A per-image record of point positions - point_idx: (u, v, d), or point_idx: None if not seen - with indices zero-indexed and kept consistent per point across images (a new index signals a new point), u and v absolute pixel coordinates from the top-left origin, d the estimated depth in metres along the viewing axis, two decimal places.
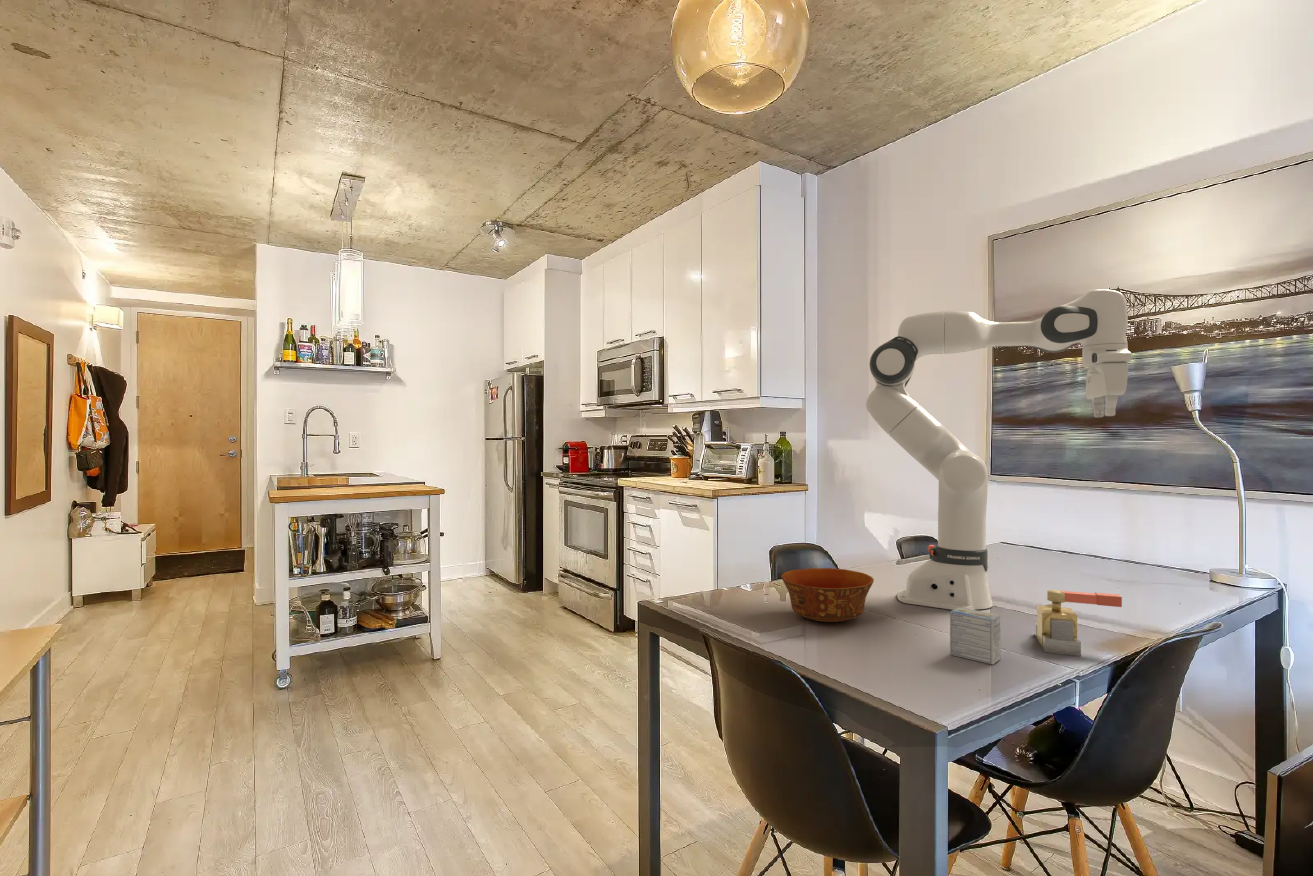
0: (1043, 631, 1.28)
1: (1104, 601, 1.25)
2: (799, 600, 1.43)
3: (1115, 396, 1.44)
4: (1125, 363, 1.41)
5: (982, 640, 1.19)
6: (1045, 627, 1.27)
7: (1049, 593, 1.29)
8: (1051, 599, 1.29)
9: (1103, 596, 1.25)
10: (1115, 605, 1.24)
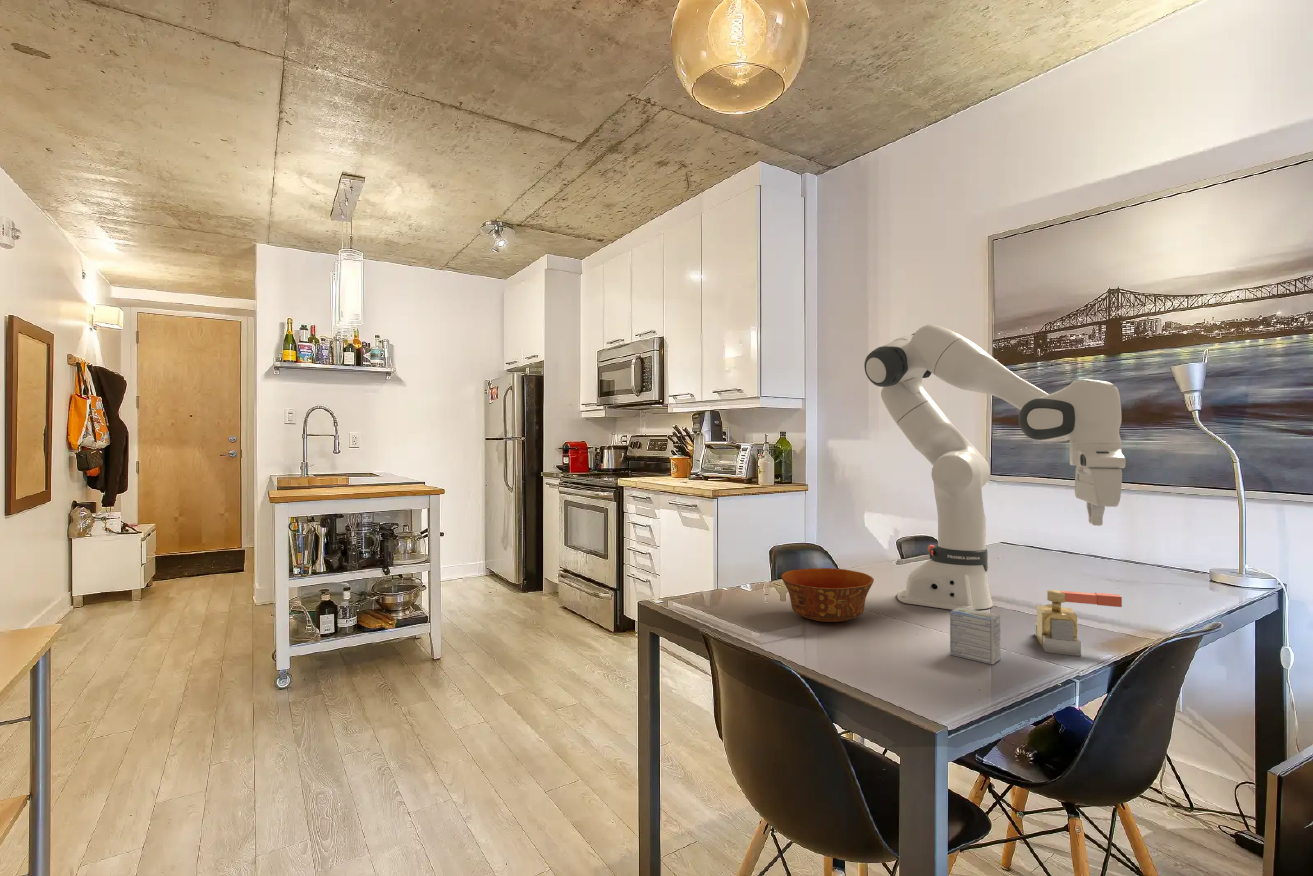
0: (1043, 631, 1.28)
1: (1104, 601, 1.25)
2: (799, 600, 1.43)
3: None
4: (1118, 470, 1.21)
5: (982, 640, 1.19)
6: (1045, 627, 1.27)
7: (1049, 593, 1.29)
8: (1051, 599, 1.29)
9: (1103, 596, 1.25)
10: (1115, 605, 1.24)
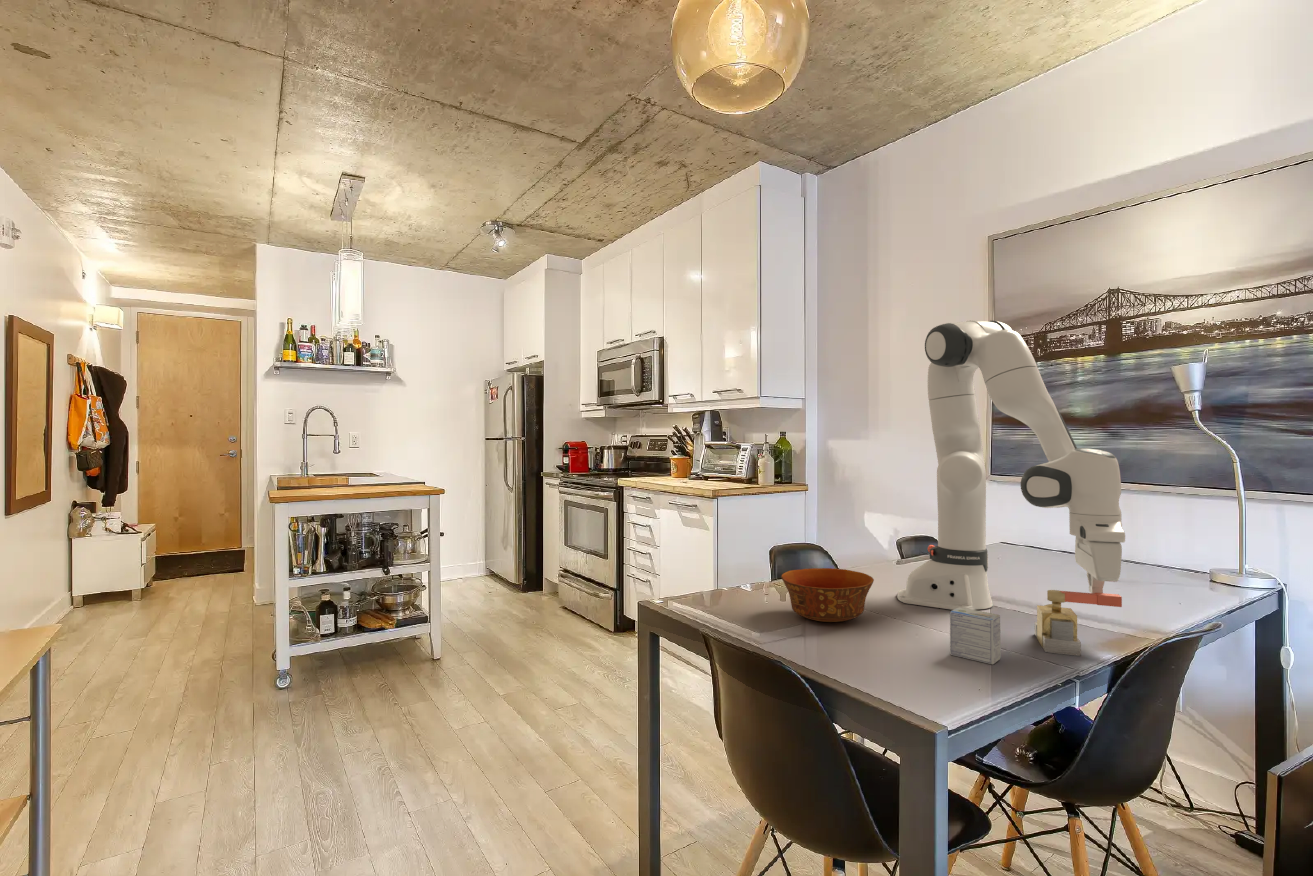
0: (1043, 631, 1.28)
1: (1104, 601, 1.25)
2: (799, 600, 1.43)
3: None
4: (1118, 545, 1.21)
5: (982, 640, 1.19)
6: (1045, 627, 1.27)
7: (1049, 593, 1.29)
8: (1051, 599, 1.29)
9: (1103, 596, 1.25)
10: (1115, 605, 1.24)
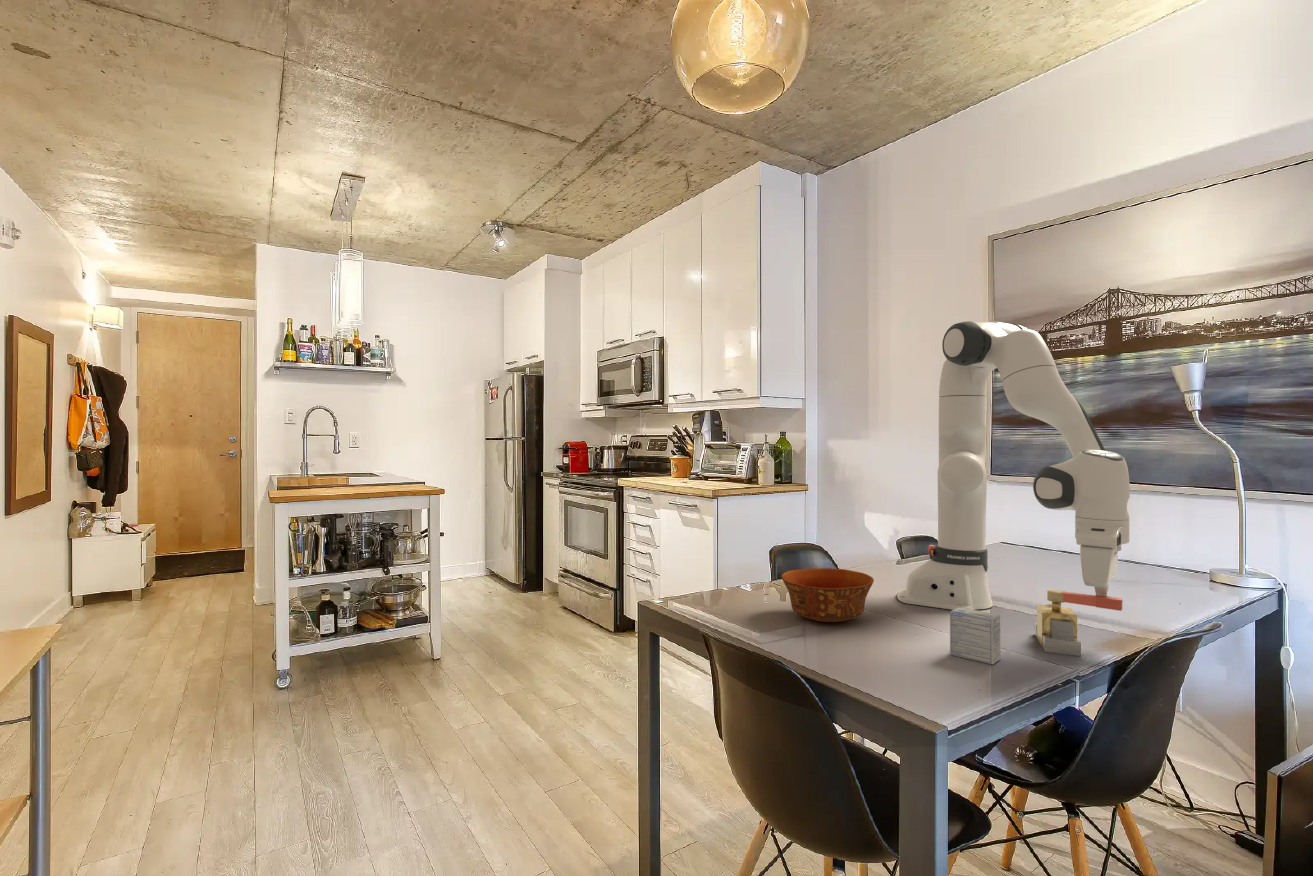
0: (1043, 631, 1.28)
1: (1103, 604, 1.23)
2: (799, 600, 1.43)
3: None
4: (1108, 550, 1.18)
5: (982, 640, 1.19)
6: (1045, 627, 1.27)
7: (1047, 592, 1.30)
8: (1049, 598, 1.29)
9: (1102, 598, 1.23)
10: (1114, 608, 1.22)
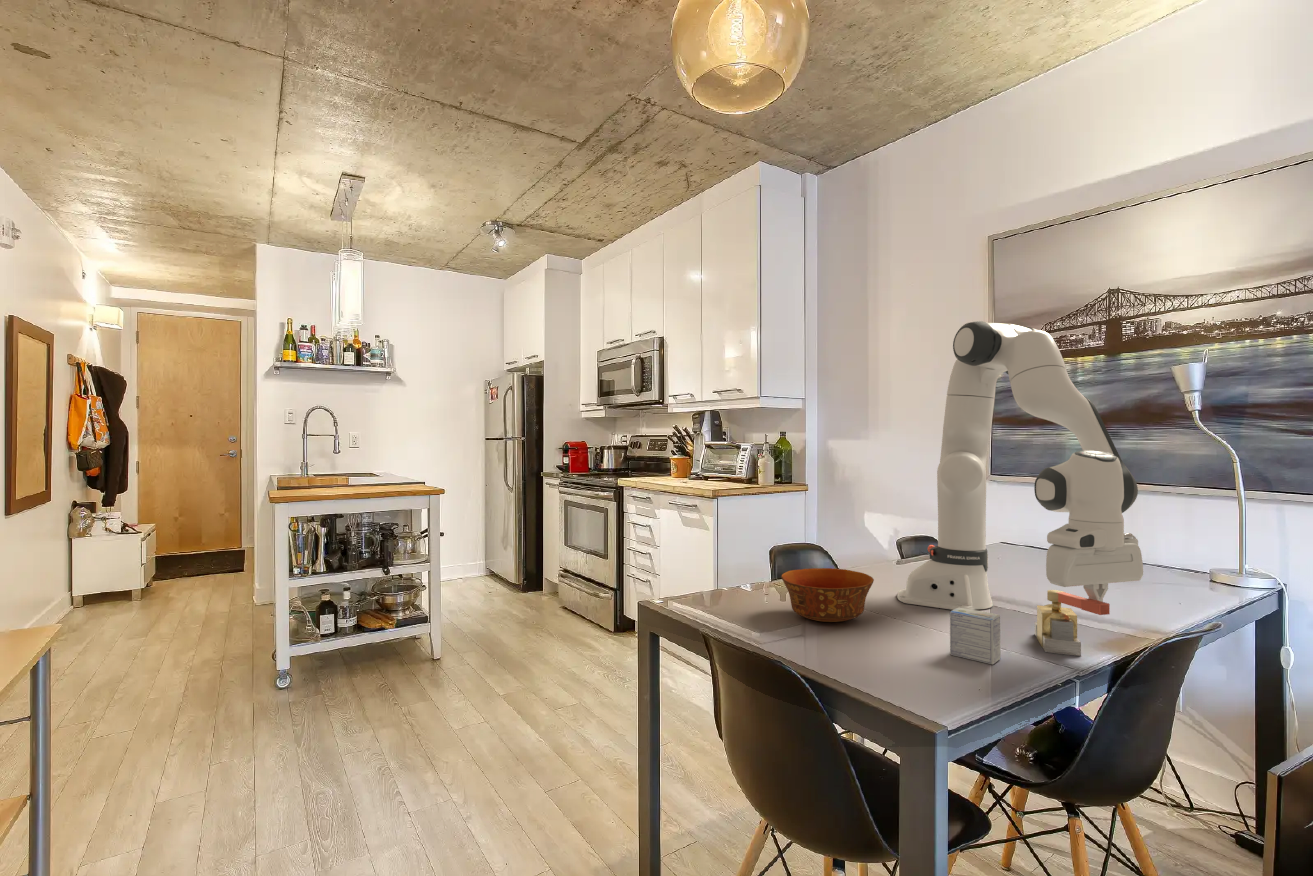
0: (1043, 631, 1.28)
1: (1086, 606, 1.21)
2: (799, 600, 1.43)
3: (1091, 584, 1.21)
4: (1069, 550, 1.18)
5: (982, 640, 1.19)
6: (1045, 627, 1.27)
7: None
8: (1047, 597, 1.30)
9: (1085, 601, 1.21)
10: (1094, 612, 1.19)
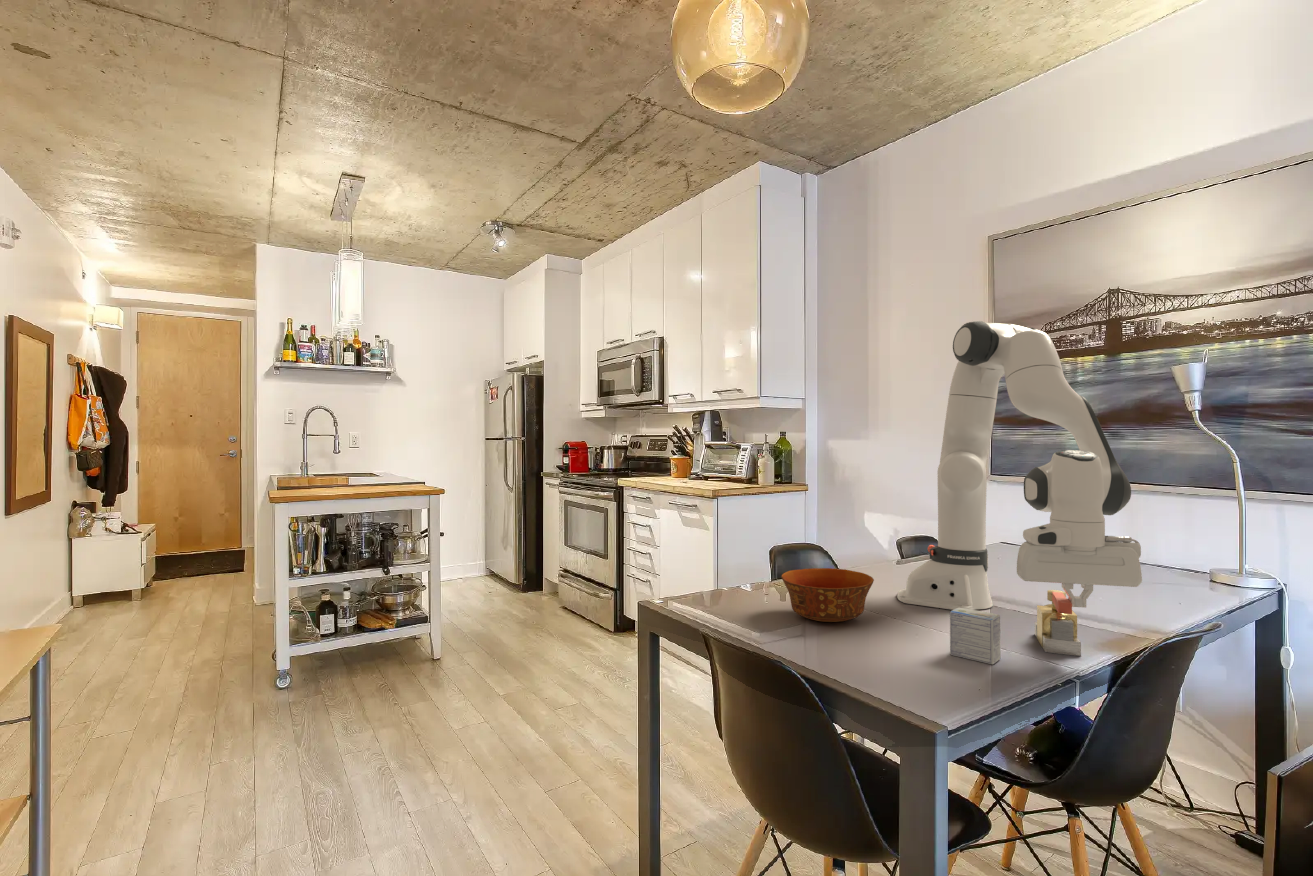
0: (1043, 631, 1.28)
1: (1055, 604, 1.23)
2: (799, 600, 1.43)
3: (1064, 583, 1.22)
4: (1029, 546, 1.22)
5: (982, 640, 1.19)
6: (1045, 627, 1.27)
7: None
8: None
9: (1056, 599, 1.23)
10: (1057, 610, 1.21)
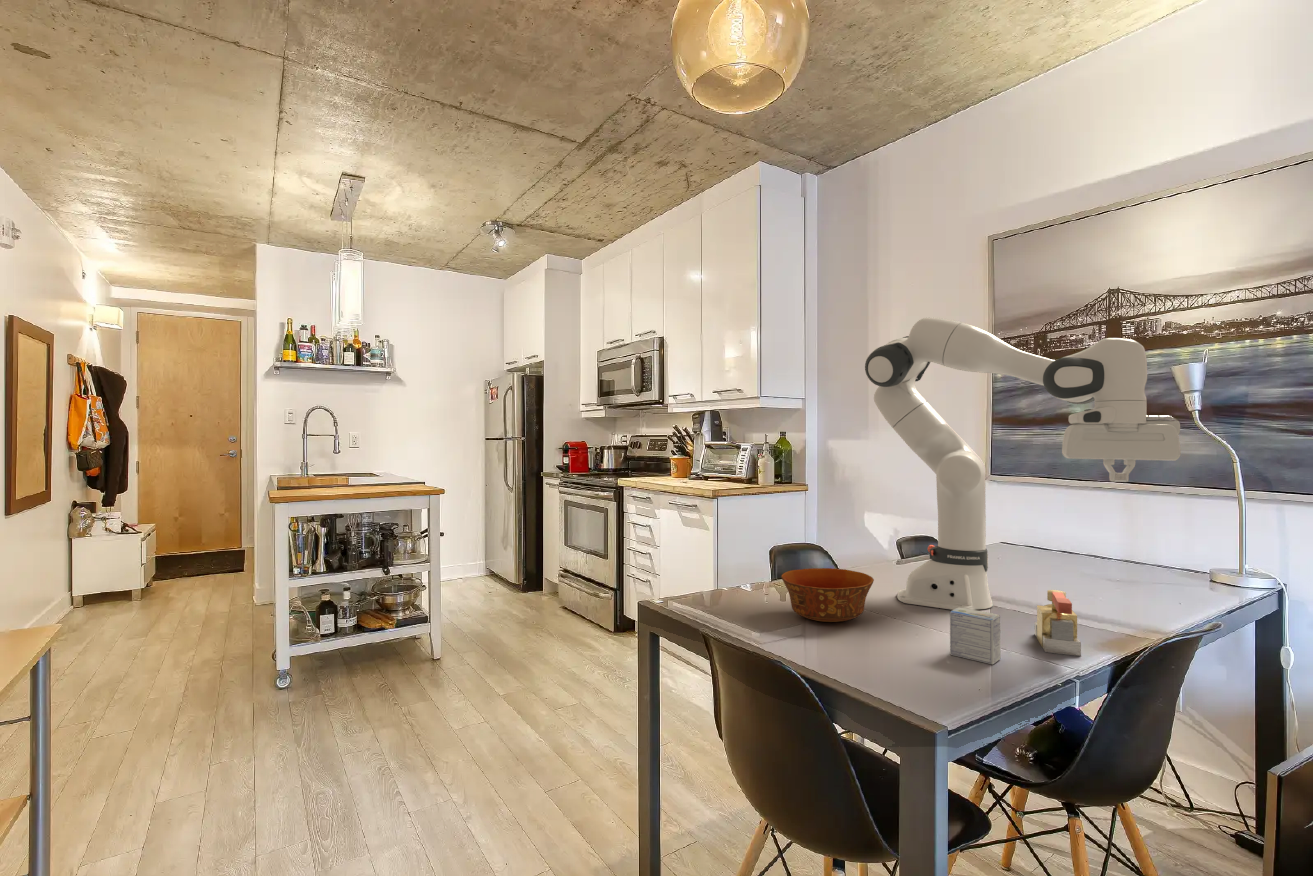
0: (1043, 631, 1.28)
1: (1055, 604, 1.23)
2: (799, 600, 1.43)
3: (1106, 460, 1.32)
4: (1075, 425, 1.33)
5: (982, 640, 1.19)
6: (1045, 627, 1.27)
7: None
8: None
9: (1056, 599, 1.23)
10: (1057, 610, 1.21)
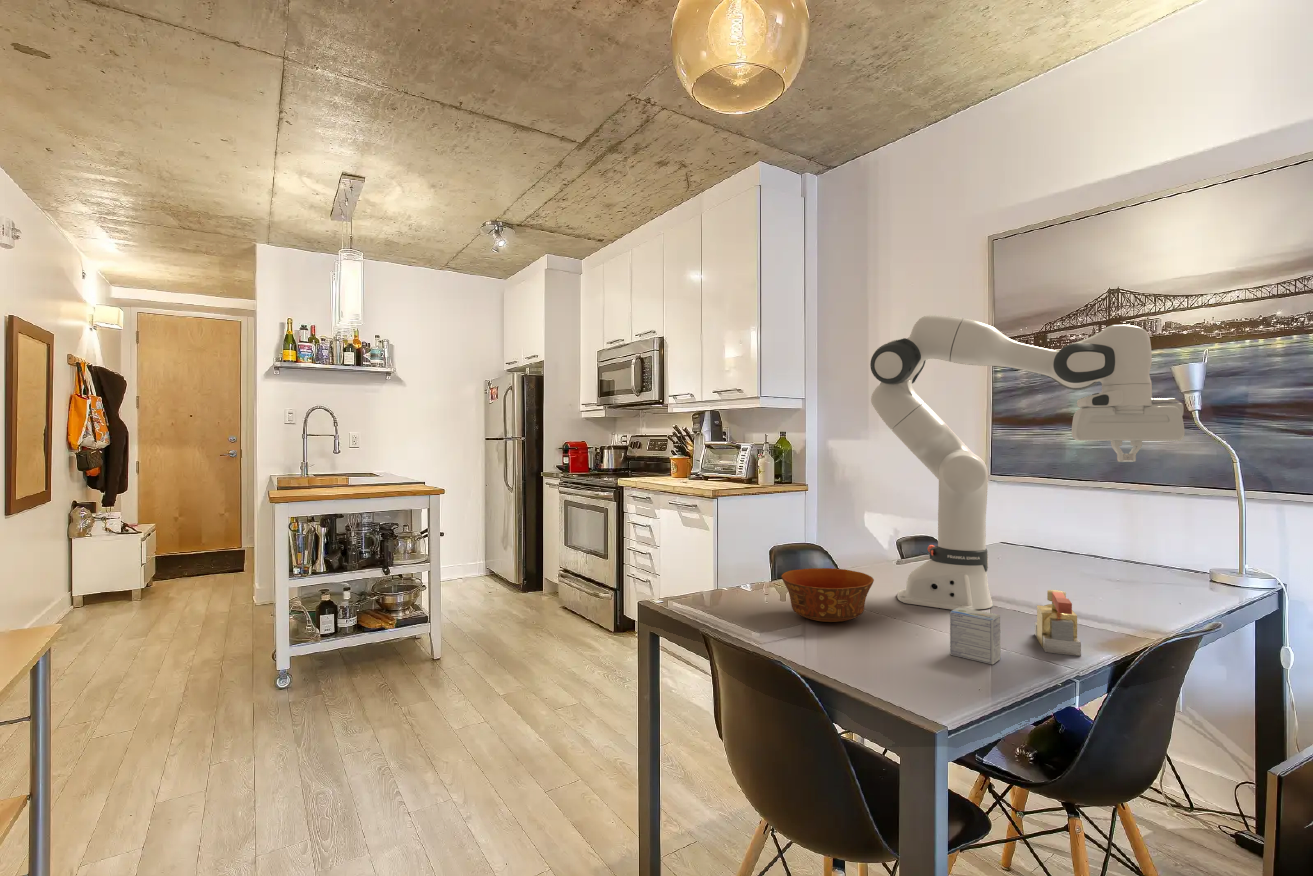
0: (1043, 631, 1.28)
1: (1055, 604, 1.23)
2: (799, 600, 1.43)
3: (1114, 441, 1.39)
4: (1084, 409, 1.39)
5: (982, 640, 1.19)
6: (1045, 627, 1.27)
7: None
8: None
9: (1056, 599, 1.23)
10: (1057, 610, 1.21)
